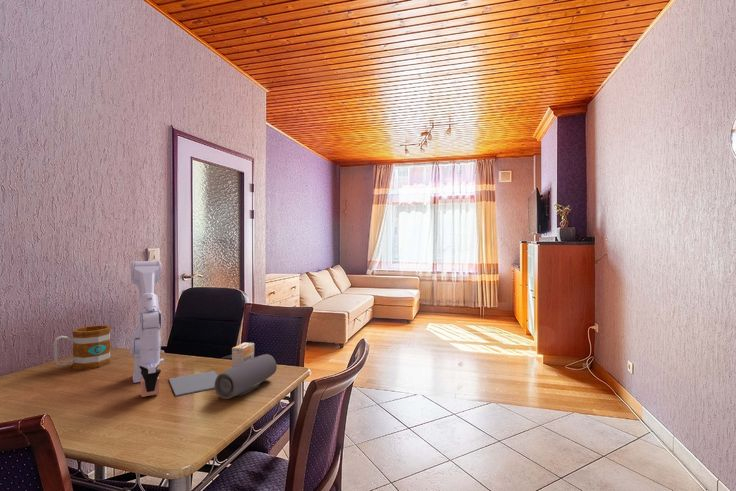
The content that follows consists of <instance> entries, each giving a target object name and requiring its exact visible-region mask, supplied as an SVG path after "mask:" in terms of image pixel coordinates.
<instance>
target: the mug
mask: <svg viewBox="0 0 736 491" xmlns="http://www.w3.org/2000/svg"><path fill="white" fill-rule="evenodd" d="M72 336H73V337H72V338H70V337H69V336H66V335H59V336H58V337H55V339H54V341H53V343H52V347H53V356H54V357H53V358H54V362H55V363H56V365H57V366H66V365H68V364H71V363H72V368H71V369H72V370H80V371H83V370H92V369H99V368H102V367H104V366H108V365H110V364H111V362H112V359H111V344H112V343H111V325H108V324H107V325H105V324H104V325H103V324H99V325H98V324H96V325H87V326H82V327H78V328H74V329H73V330H72ZM61 339H65V340H66V341H67V342H70V343H72V357H73V358H72V359H71V358H70V359H67V360H65V361H64V362H60V360H59V348H58V341H60V340H61Z"/></svg>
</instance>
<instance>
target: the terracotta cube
mask: <svg viewBox="0 0 736 491" xmlns="http://www.w3.org/2000/svg"><path fill="white" fill-rule="evenodd" d="M159 394H160V377H159V376H158V378H157V382H156V386H155V390H154V391H151V392H147V390H146V386H145V380H144V378H143V377H141V382H140V396H141V398H142V397H143V398H144V397H149V396H154V395H159Z"/></svg>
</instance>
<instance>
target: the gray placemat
mask: <svg viewBox="0 0 736 491" xmlns="http://www.w3.org/2000/svg"><path fill="white" fill-rule="evenodd" d="M218 375H219V374H218V373H217V372H216V371H215V370H211V371H210V370H209V371H205V372H200V373H199V372H198V373H193V374H188V375H182V376H177V377H171V378H168V381H169V384H170V387H171V389H172V392H173V393H174V396H175V397H181V396H184V395H190V394H195V393H200V392H206V391H210V390H215V380H216V378H217V376H218Z"/></svg>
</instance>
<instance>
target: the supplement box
mask: <svg viewBox="0 0 736 491" xmlns="http://www.w3.org/2000/svg"><path fill="white" fill-rule="evenodd" d="M252 358H255V343H254V342H242V343H240V344H238V345H236V346H233V347H232V348H231V368H232V367H234V366H236V365H238V364H240V363H243V362H245V361H247V360H250V359H252Z"/></svg>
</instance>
